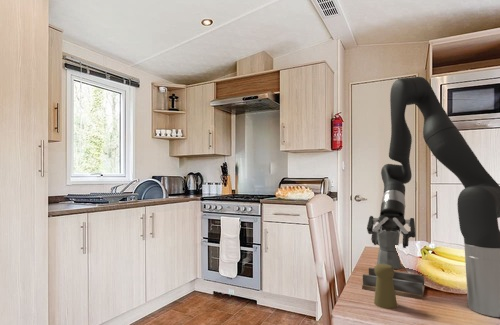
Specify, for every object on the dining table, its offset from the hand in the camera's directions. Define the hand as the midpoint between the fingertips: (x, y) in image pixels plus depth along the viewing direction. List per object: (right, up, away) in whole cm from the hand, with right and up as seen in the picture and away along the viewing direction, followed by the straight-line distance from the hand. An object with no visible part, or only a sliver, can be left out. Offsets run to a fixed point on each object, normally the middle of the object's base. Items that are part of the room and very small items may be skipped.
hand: (389, 245), depth 94 cm
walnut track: (+3, -15, +4) cm, 16 cm away
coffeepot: (+13, -17, +29) cm, 36 cm away
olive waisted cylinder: (-6, -14, -10) cm, 18 cm away
